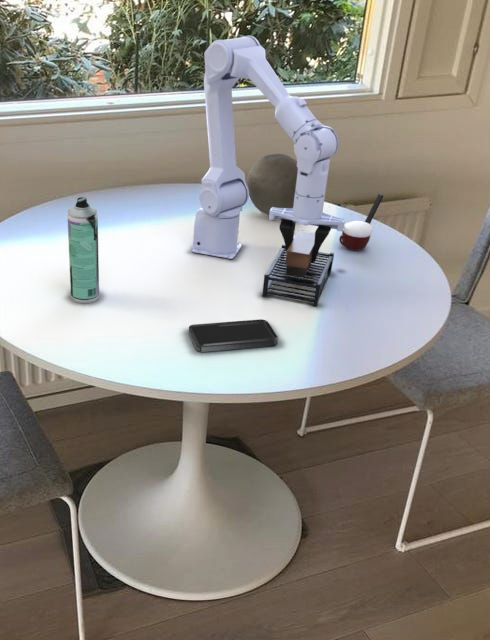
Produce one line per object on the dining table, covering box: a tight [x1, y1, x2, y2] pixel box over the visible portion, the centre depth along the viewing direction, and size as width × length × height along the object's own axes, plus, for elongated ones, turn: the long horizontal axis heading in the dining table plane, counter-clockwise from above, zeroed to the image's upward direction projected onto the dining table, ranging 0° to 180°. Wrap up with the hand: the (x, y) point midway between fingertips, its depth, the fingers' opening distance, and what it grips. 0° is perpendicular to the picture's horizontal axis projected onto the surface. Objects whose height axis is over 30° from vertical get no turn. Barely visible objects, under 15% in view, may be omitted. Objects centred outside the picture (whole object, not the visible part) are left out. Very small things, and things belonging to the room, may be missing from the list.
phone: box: [188, 318, 279, 353], centre depth 138 cm, size 8×1×15 cm
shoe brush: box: [285, 230, 315, 277], centre depth 154 cm, size 4×11×5 cm, turn 161°
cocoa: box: [338, 192, 384, 251], centre depth 171 cm, size 10×6×12 cm, turn 95°
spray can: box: [67, 196, 100, 304], centre depth 144 cm, size 6×6×20 cm
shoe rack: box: [261, 243, 335, 308], centre depth 156 cm, size 11×16×5 cm
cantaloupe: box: [246, 153, 298, 216], centre depth 185 cm, size 14×14×15 cm
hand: (301, 257), depth 154 cm, fingers closed on shoe brush, 4 cm apart
